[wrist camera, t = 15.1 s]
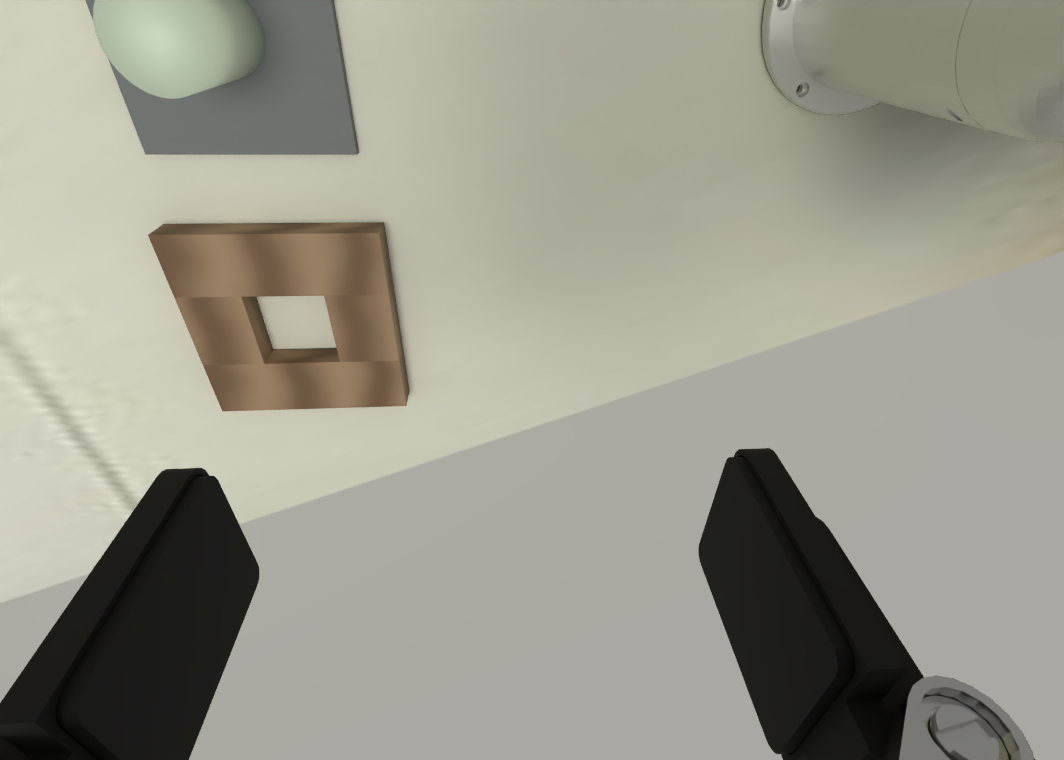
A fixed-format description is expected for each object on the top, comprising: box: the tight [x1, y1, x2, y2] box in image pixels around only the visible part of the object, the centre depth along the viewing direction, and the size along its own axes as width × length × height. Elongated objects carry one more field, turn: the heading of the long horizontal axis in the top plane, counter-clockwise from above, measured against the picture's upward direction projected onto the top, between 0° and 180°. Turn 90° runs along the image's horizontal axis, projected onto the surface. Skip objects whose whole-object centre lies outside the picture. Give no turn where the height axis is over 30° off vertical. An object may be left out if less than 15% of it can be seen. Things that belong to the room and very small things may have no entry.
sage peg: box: [93, 0, 265, 99], centre depth 29 cm, size 5×5×8 cm
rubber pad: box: [86, 0, 359, 154], centre depth 32 cm, size 14×14×1 cm
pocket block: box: [148, 223, 409, 411], centre depth 43 cm, size 16×16×2 cm
